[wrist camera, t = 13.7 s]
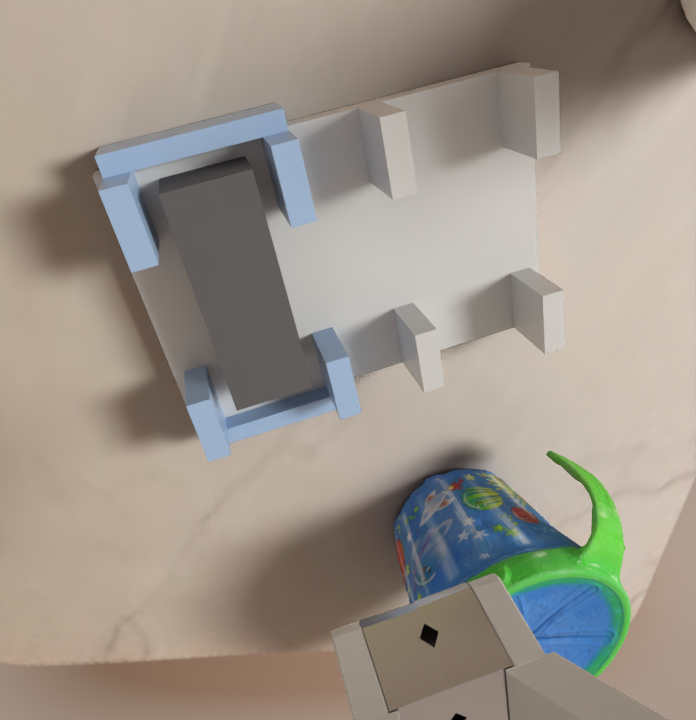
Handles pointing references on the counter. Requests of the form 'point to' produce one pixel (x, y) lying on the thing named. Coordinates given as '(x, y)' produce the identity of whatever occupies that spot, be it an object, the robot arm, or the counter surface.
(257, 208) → the long gray rectangular prism
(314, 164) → the pegged tray
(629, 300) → the counter surface
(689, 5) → the milk bottle
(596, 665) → the snack cup
